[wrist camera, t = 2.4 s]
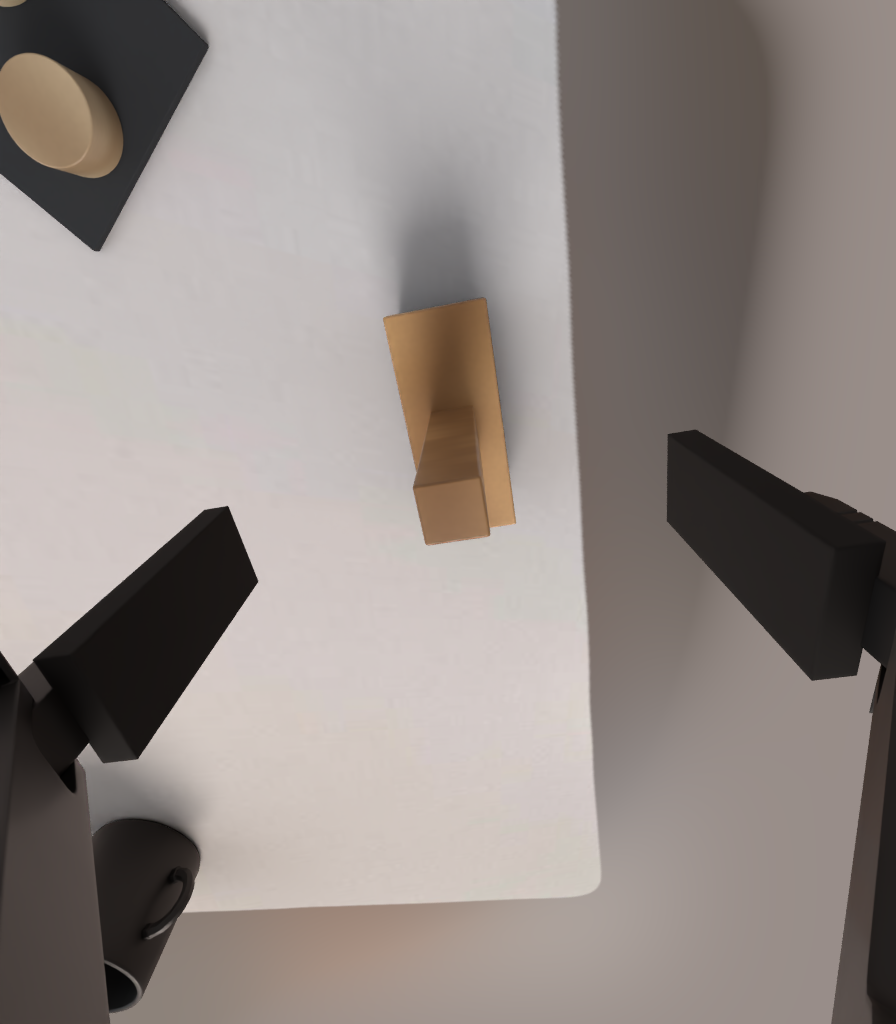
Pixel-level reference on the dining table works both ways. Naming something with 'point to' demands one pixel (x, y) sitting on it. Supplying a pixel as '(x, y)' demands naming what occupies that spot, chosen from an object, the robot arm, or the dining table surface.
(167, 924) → the mug
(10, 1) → the disc
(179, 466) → the dining table surface
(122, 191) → the mat
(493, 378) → the wooden t-shaped block
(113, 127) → the disc
